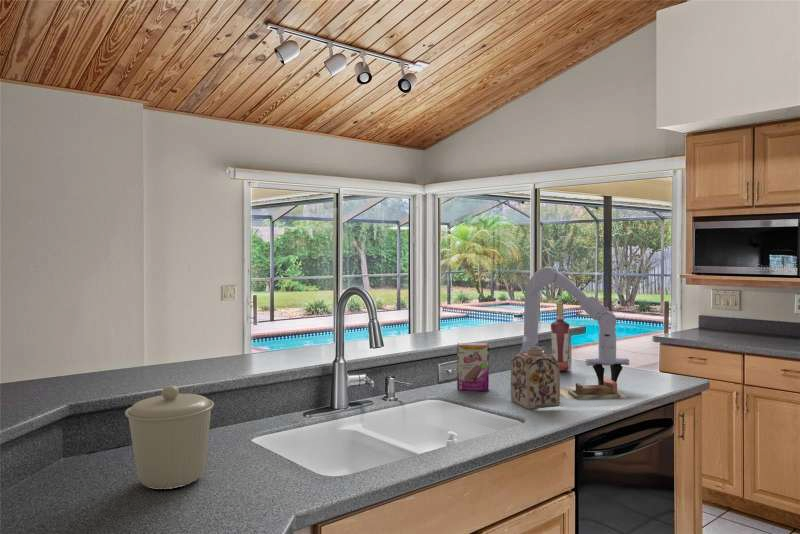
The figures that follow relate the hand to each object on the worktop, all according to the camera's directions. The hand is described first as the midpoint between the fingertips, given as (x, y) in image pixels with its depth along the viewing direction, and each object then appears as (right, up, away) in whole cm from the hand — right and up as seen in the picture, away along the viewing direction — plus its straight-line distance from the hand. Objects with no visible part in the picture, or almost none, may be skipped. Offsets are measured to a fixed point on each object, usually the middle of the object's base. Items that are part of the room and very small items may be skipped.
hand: (607, 386), depth 202 cm
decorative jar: (-28, -3, -13) cm, 31 cm away
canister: (-121, -6, -73) cm, 142 cm away
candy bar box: (-45, -3, +7) cm, 46 cm away
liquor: (-6, -2, +37) cm, 37 cm away
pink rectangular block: (0, -1, 0) cm, 1 cm away
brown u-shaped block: (-7, -1, -8) cm, 11 cm away
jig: (-8, -3, -4) cm, 9 cm away
